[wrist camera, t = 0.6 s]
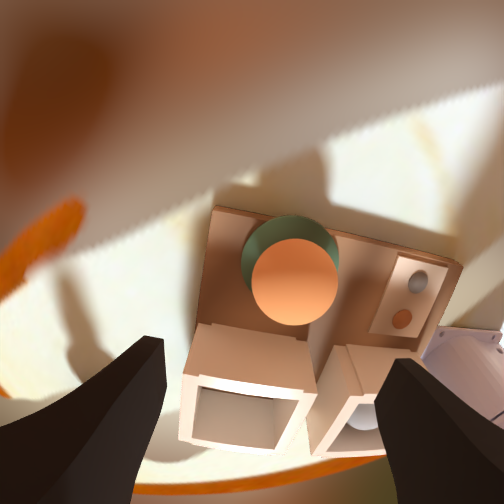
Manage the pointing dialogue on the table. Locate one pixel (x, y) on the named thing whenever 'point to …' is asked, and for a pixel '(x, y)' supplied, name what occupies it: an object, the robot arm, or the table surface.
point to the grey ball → (363, 417)
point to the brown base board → (348, 292)
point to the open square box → (349, 399)
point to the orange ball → (294, 281)
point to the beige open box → (245, 390)
